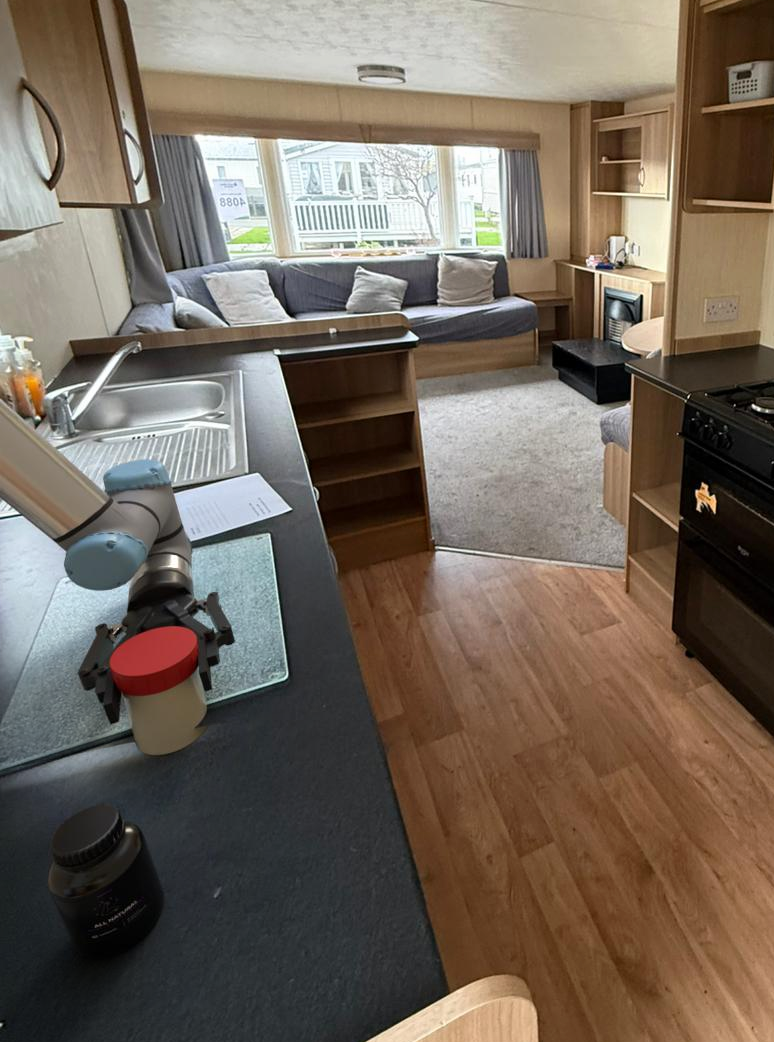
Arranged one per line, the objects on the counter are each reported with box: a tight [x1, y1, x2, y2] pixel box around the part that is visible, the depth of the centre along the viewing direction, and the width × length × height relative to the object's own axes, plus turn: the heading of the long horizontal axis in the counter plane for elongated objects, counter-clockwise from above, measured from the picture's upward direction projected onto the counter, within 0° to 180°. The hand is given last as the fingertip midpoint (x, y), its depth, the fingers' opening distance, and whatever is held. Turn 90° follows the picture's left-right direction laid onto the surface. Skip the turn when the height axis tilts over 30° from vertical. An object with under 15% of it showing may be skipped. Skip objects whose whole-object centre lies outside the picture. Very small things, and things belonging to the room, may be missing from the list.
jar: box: [121, 666, 208, 756], centre depth 77 cm, size 8×8×12 cm
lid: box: [110, 626, 199, 696], centre depth 75 cm, size 8×8×3 cm
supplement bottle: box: [46, 803, 165, 960], centre depth 57 cm, size 7×7×12 cm
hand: (159, 697), depth 72 cm, fingers closed on lid, 8 cm apart
